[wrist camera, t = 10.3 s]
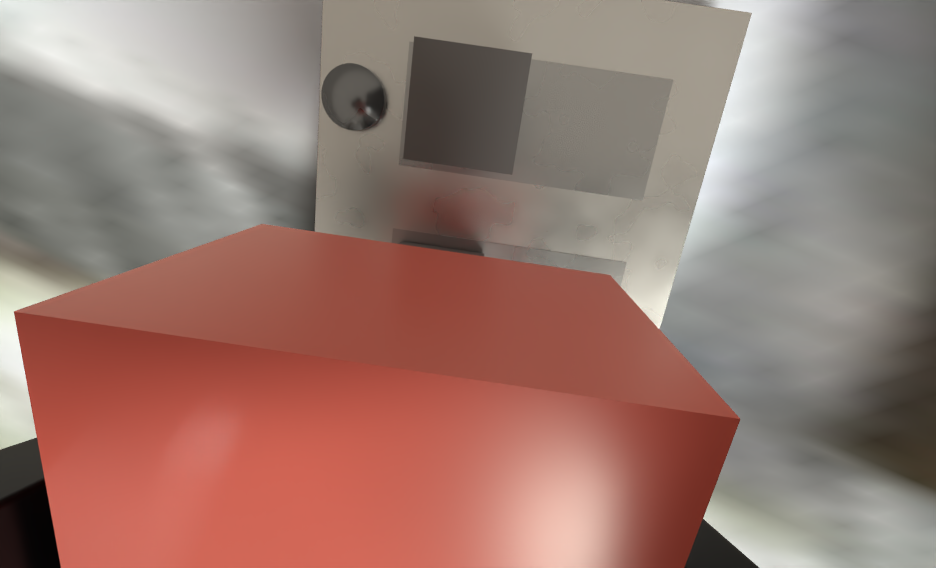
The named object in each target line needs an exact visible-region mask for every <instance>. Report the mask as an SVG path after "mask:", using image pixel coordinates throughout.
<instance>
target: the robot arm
mask: <svg viewBox="0 0 936 568" xmlns="http://www.w3.org/2000/svg"><path fill="white" fill-rule="evenodd" d="M0 568H61V565H60V559H59V554H58V549H57V543H56V538H55V532H54V527H53V521H52V516H51V511H50V505H49V500H48V494H47V489H46V483H45V478H44V472H43V467H42V462H41V456H40V451H39V445H38V440H37V438H34V439H31V440H28V441H25V442H22V443H19V444H16V445H13V446H10V447H7V448H4V449H1V450H0ZM684 568H759V567H758V566H757V565H755V564H754V563H753V562H752V561H751V560H750V559H749V558H747V557H746V556H745V555H744V554H743V553H742V552H741V551H739V550H738V549H737V548H736V547H735V546H734V545H732V544H731V543H730V542H729V541H728V540H727V539H726V538H724V537H723V536H722V535H721V534H720V533H719V532H718V531H716V530H715V529H714V528H713V527H712V526H711V525H710V524H708V523H707V522H706V521H705V520H704V519H702V522H701V525H700V527H699V530H698V533H697V535H696V538H695V541H694V543H693V546H692V549H691V551H690V554H689V557H688V559H687V562H686V564H685V567H684Z"/></svg>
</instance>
